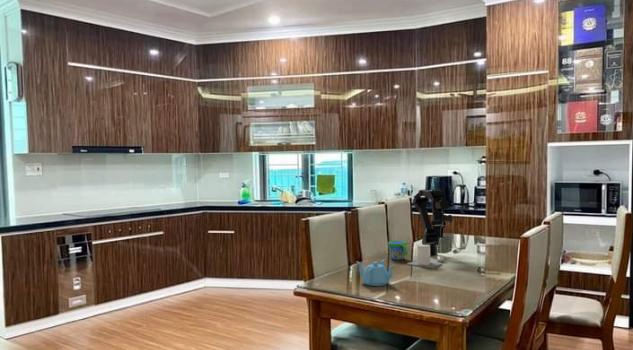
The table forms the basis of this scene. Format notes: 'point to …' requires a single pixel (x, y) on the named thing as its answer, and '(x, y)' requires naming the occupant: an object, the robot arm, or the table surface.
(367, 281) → the teapot
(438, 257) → the silver metallic cylinder
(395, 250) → the snack cup
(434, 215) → the robot arm
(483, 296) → the table surface
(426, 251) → the cover
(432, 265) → the mat
